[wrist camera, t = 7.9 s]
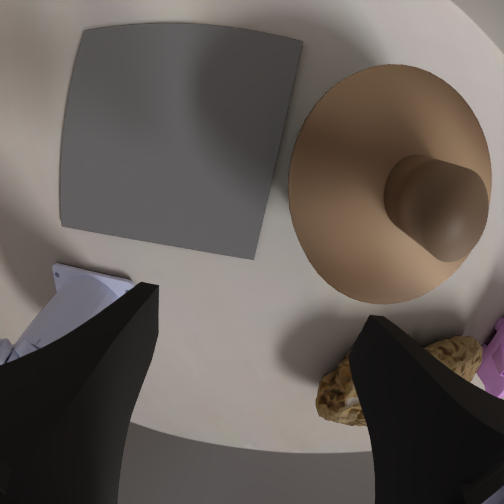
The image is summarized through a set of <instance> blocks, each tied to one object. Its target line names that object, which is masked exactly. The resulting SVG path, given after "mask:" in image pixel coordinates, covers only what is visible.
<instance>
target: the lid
mask: <svg viewBox="0 0 504 504" xmlns="http://www.w3.org/2000/svg"><path fill="white" fill-rule="evenodd" d="M491 186H492V172H491V162H490V155H489V150H488V146H487V142H486V139H485V136H484V133H483V131H482V128H481V126H480V124H479V122H478V120H477V118H476V116H475V114H474V113H473V111H472V109H471V108H470V106H469V105H468V104H467V103H466V101H465V100H464V99H463V97H462V96H461V95H460V94H459V93H458V92H457V91H456V90H455V89H454V88H453V87H451V86H450V85H449V84H448V83H446V82H445V81H444V80H442V79H441V78H439V77H437V76H435V75H434V74H432V73H430V72H428V71H425V70H422V69H420V68H417V67H412V66H407V65H395V64H388V65H381V66H375V67H371V68H368V69H365V70H362V71H360V72H357V73H355V74H352V75H351V76H349V77H347V78H345V79H344V80H342V81H340V82H338V83H337V84H336V85H335V86H333V87H332V88H331V89H330V90H329V91H327V92H326V93H325V94H324V95H323V96H322V98H321V99H320V100H319V101H318V102H317V103H316V104H315V106H314V107H313V109H312V110H311V112H310V113H309V115H308V116H307V118H306V119H305V121H304V123H303V125H302V128H301V130H300V132H299V134H298V136H297V139H296V142H295V146H294V149H293V152H292V156H291V162H290V168H289V178H288V197H289V209H290V213H291V218H292V222H293V226H294V229H295V232H296V235H297V237H298V240H299V242H300V244H301V247H302V248H303V250H304V252H305V254H306V256H307V258H308V260H309V262H310V263H311V264H312V266H313V267H314V269H315V270H316V271H317V273H318V274H319V275H320V276H321V277H322V278H323V279H324V280H325V281H326V282H327V283H328V284H329V285H330V286H332V287H333V288H334V289H336V290H337V291H338V292H340V293H342V294H344V295H346V296H348V297H350V298H353V299H355V300H358V301H361V302H366V303H371V304H394V303H400V302H404V301H409V300H411V299H414V298H417V297H420V296H422V295H424V294H426V293H428V292H429V291H431V290H433V289H434V288H436V287H437V286H439V285H440V284H442V283H443V282H444V281H445V280H446V279H448V278H449V277H450V276H451V275H452V274H453V273H454V272H455V271H456V270H457V269H458V268H459V267H460V265H461V264H462V263H463V262H464V260H465V259H466V258H467V256H468V255H469V253H470V252H471V250H472V249H473V248H474V247H475V245H476V244H477V243H478V241H479V239H480V237H481V236H482V233H483V231H484V229H485V225H486V222H487V218H488V209H489V203H490V197H491Z"/></svg>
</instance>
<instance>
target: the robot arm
mask: <svg viewBox="0 0 504 504" xmlns="http://www.w3.org/2000/svg"><path fill="white" fill-rule="evenodd" d="M52 270H53V276H54V281H55V287H56V292H57V293H56V294H55V295H54V296H53V297H52V298H51V300H50V301H49V302H48V303H47V304H46V305H45V307H44V308H43V309H42V310H41V311H40V313H39V314H38V315H37V316H36V317H35V319H34V320H33V321H32V322H31V324H30V325H29V326H28V327H27V329H26V330H25V331H24V333H23V334H22V335H21V337H20V338H19V339H18V340H17V342H16V343H15V344H14V345H12V343H11V342H10V341H9V340H8V339H7V338H5V339H0V504H117V499H118V488H119V478H120V470H121V462H122V457H123V451H124V446H125V440H126V435H127V431H128V426H129V422H130V419H131V415H132V412H133V409H134V406H135V403H136V401H137V398H138V395H139V392H140V390H141V387H142V384H143V382H144V379H145V376H146V374H147V371H148V368H149V366H150V363H151V360H152V357H153V353H154V349H155V345H156V341H157V337H158V334H159V330H158V308H159V285H155V284H150V283H145V282H140V283H139V284H137V285H136V286H134V283H133V282H132V281H131V280H129V279H124V278H120V277H115V276H110V275H106V274H101V273H97V272H93V271H88V270H84V269H80V268H76V267H72V266H68V265H64V264H60V263H55V264H54V265H53V267H52ZM58 274H59V275H58ZM127 290H129V291H127ZM348 360H349V366H350V371H351V376H352V381H353V384H354V387H355V390H356V393H357V396H358V399H359V402H360V405H361V408H362V412H363V415H364V418H365V421H366V424H367V427H368V431H369V435H370V440H371V446H372V453H373V459H374V471H375V504H504V400H503V399H500V398H498V397H496V396H494V395H492V394H490V393H488V392H486V391H484V390H482V389H480V388H478V387H477V386H475V385H473V384H472V383H470V382H468V381H467V380H465V379H464V378H462V377H461V376H459V375H458V374H456V373H455V372H453V371H452V370H451V369H449V368H448V367H447V366H445V365H444V364H443V363H442V362H440V361H439V360H438V359H436V358H435V357H434V356H433V355H431V354H430V353H429V352H428V351H427V350H425V349H424V348H423V347H422V346H421V345H419V344H418V343H417V342H416V341H415V340H413V339H412V338H411V337H410V336H409V335H407V334H406V333H405V332H404V331H403V330H401V329H400V328H399V327H398V326H396V325H395V324H394V323H392V322H391V321H390V320H388V319H387V318H385V317H383V316H375V315H369V317H368V319H367V321H366V323H365V325H364V327H363V329H362V331H361V333H360V334H359V336H358V338H357V340H356V342H355V344H354V345H353V347H352V349H351V351H350V353H349V354H348Z"/></svg>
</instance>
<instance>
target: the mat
mask: <svg viewBox="0 0 504 504" xmlns="http://www.w3.org/2000/svg"><path fill="white" fill-rule="evenodd" d="M302 43H303V41H300V40H296V39H292V38H288V37H283V36H279V35H274V34H270V33H265V32H259V31H254V30H247V29H241V28H234V27H226V26H216V25H204V24H186V23H150V24H132V25H121V26H112V27H104V28H97V29H91V30H85V31H84V33H83V37H82V40H81V43H80V47H79V50H78V54H77V58H76V62H75V66H74V70H73V75H72V79H71V84H70V89H69V95H68V101H67V107H66V114H65V122H64V131H63V141H62V154H61V180H60V198H61V224H62V226H63V227H68V228H73V229H79V230H84V231H90V232H95V233H101V234H107V235H112V236H118V237H123V238H129V239H135V240H140V241H146V242H152V243H157V244H163V245H169V246H175V247H180V248H186V249H192V250H198V251H204V252H209V253H215V254H221V255H227V256H233V257H239V258H245V259H251V260H254V256H255V252H256V248H257V243H258V239H259V235H260V230H261V226H262V221H263V217H264V213H265V208H266V204H267V199H268V195H269V191H270V186H271V182H272V177H273V173H274V169H275V164H276V160H277V155H278V151H279V146H280V142H281V137H282V133H283V129H284V124H285V120H286V115H287V111H288V106H289V102H290V97H291V93H292V88H293V84H294V79H295V75H296V70H297V66H298V61H299V57H300V52H301V48H302Z"/></svg>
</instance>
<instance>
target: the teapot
mask: <svg viewBox="0 0 504 504" xmlns="http://www.w3.org/2000/svg"><path fill="white" fill-rule="evenodd" d="M495 329H496V331H497V333H496V334H495V336H494V337H493V339H492V340H491V342H490V343H489V345H488V346H487V345H486V344H485V345H483V346H482V350H483V353H482V358H483V359H482V362H481V364H480V366H479V368H478V370H477V372H476V373H477V375H478V376H479V378H480V379H481V381H482V382H483V384H484V385H485V391H486V392H488V393H490V394H492V395H494V396H496V397H498V398H501V397H504V319H503V318H500V319H499V320H498V322H497V323H496V325H495Z"/></svg>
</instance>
